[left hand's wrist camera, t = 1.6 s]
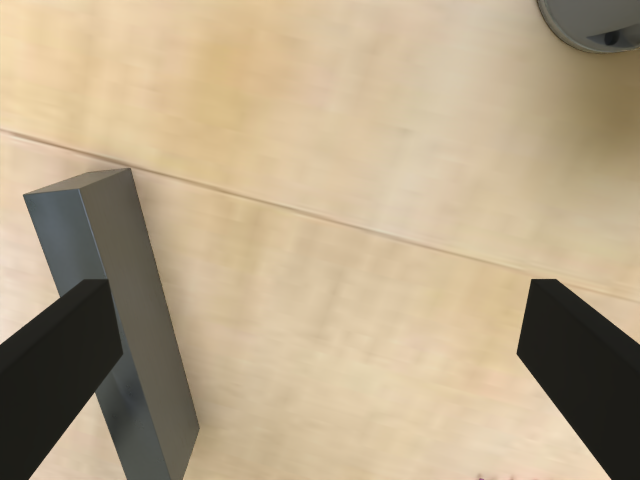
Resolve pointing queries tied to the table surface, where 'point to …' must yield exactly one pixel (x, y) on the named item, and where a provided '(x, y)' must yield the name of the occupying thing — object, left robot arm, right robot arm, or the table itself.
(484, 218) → the table surface
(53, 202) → the bar
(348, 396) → the table surface
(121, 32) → the table surface
